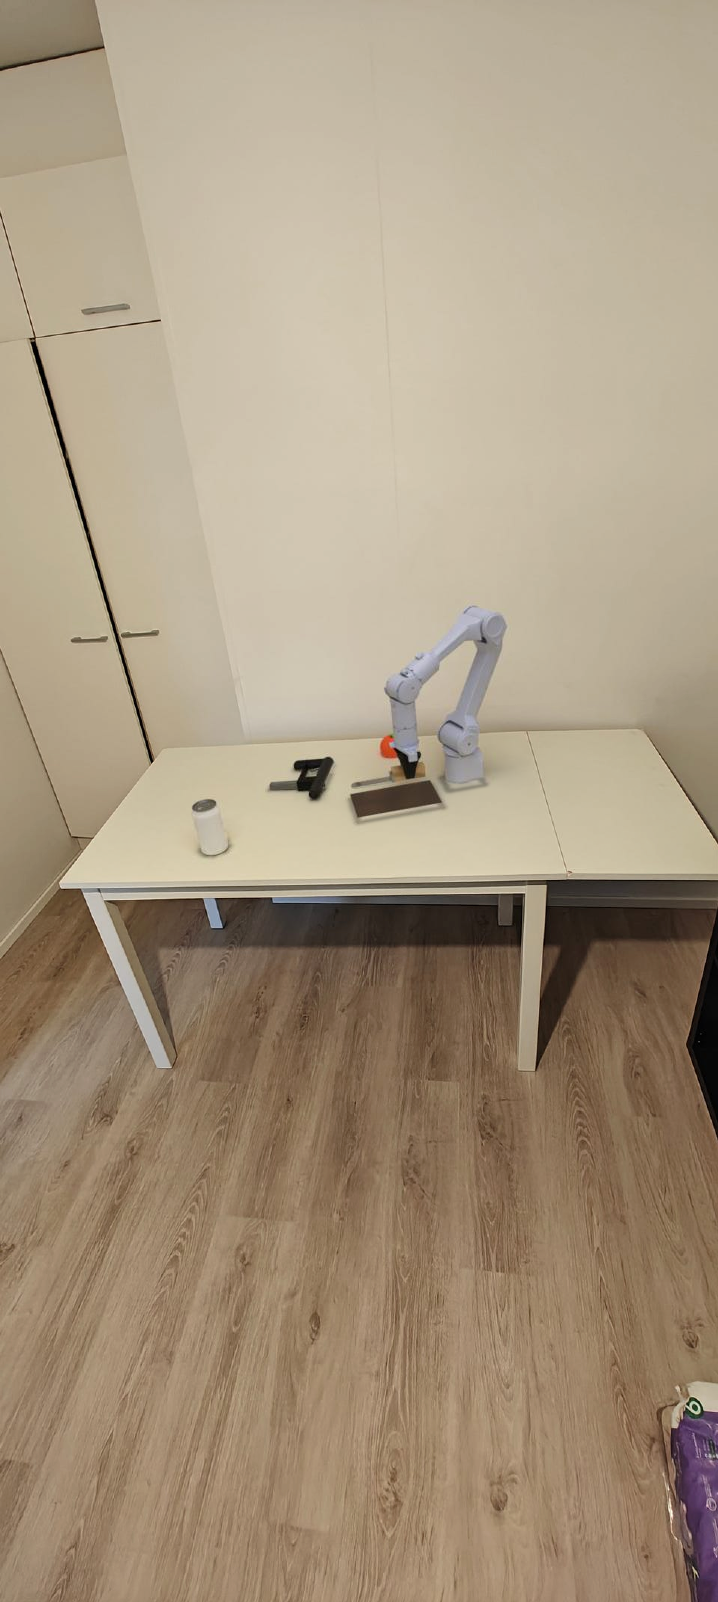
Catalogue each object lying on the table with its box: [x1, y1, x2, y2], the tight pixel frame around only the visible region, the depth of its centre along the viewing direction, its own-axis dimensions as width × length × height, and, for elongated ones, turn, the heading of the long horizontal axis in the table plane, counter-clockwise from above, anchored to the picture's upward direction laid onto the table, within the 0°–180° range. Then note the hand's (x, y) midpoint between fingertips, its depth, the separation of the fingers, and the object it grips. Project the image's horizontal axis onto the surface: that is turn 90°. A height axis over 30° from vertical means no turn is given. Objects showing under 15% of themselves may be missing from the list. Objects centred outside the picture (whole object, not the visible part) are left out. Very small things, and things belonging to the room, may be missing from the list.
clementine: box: [379, 733, 398, 759], centre depth 197 cm, size 8×7×7 cm
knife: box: [350, 761, 426, 790], centre depth 173 cm, size 18×3×3 cm, turn 99°
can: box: [191, 798, 229, 857], centre depth 165 cm, size 6×6×12 cm
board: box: [349, 779, 443, 819], centre depth 177 cm, size 21×12×2 cm, turn 99°
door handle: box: [269, 756, 335, 800], centre depth 192 cm, size 3×20×16 cm
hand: (408, 775), depth 174 cm, fingers closed on knife, 2 cm apart
